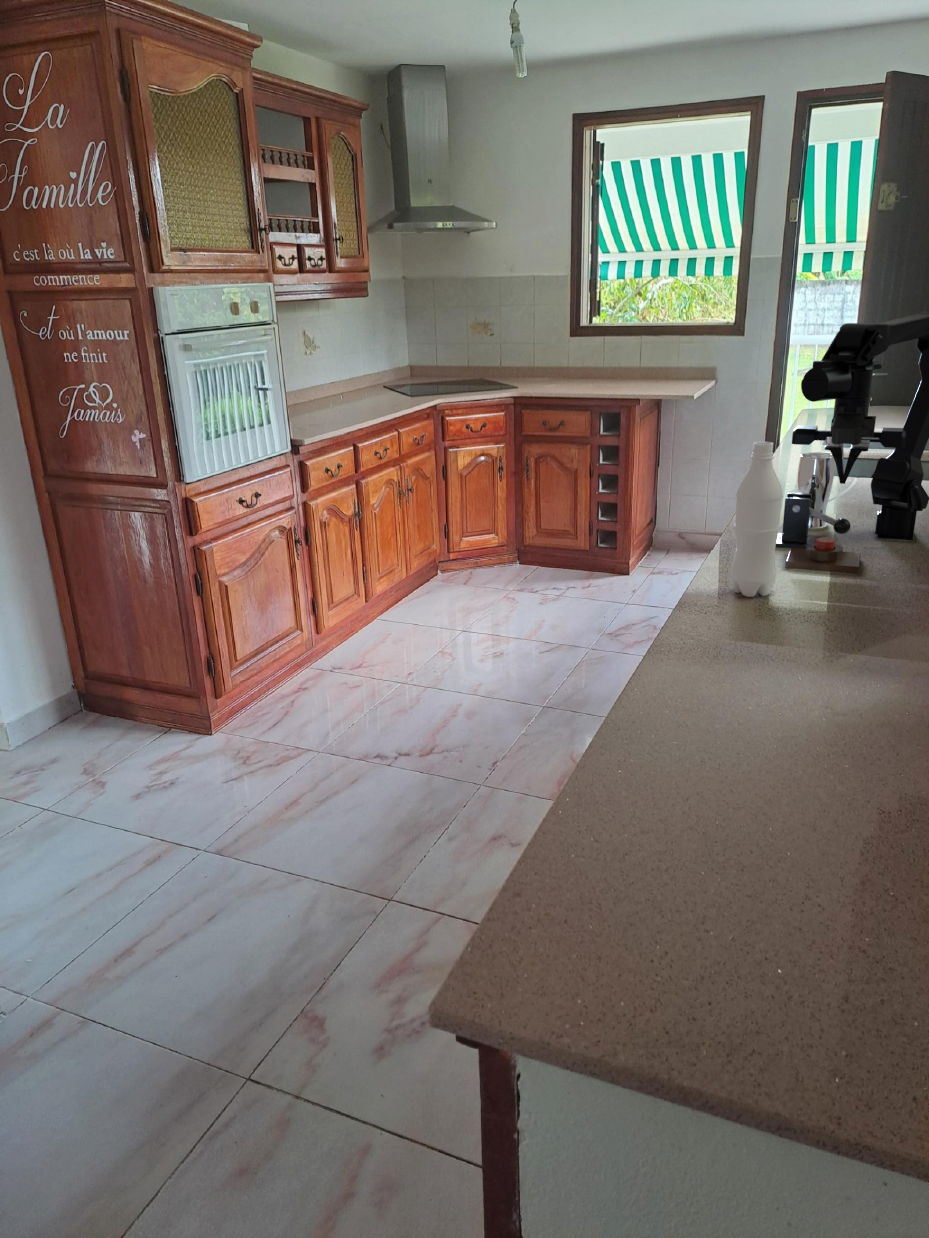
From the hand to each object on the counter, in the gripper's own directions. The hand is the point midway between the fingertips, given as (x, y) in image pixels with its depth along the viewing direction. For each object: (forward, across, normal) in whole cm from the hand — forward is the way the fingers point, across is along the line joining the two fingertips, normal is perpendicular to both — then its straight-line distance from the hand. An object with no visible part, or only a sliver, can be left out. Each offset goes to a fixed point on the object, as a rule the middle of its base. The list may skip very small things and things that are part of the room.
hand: (842, 483), depth 163 cm
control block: (+13, -1, -10) cm, 17 cm away
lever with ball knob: (+8, -4, +3) cm, 10 cm away
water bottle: (+14, -11, -28) cm, 33 cm away
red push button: (+10, -1, -10) cm, 14 cm away
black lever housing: (+13, -8, +3) cm, 15 cm away
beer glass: (+13, -6, +18) cm, 23 cm away
